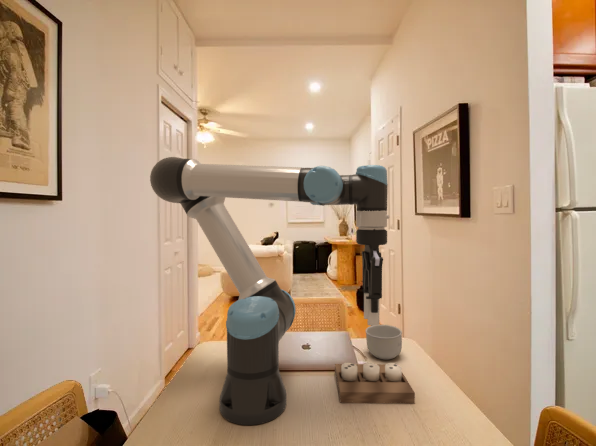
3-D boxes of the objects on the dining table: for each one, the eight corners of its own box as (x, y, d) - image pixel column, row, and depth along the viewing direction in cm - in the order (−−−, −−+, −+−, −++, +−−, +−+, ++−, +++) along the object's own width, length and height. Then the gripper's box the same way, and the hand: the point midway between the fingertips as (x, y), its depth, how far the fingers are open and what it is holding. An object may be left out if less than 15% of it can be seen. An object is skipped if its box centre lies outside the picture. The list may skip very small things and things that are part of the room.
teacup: (406, 363, 94) (406, 336, 94) (369, 363, 94) (369, 336, 94) (393, 344, 108) (393, 320, 107) (361, 344, 108) (361, 320, 108)
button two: (387, 381, 79) (387, 370, 79) (383, 373, 83) (383, 362, 83) (403, 381, 79) (403, 370, 79) (398, 373, 83) (399, 362, 83)
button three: (342, 380, 79) (342, 369, 79) (340, 373, 83) (340, 362, 83) (358, 381, 79) (358, 370, 79) (356, 373, 83) (356, 362, 83)
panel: (340, 402, 74) (340, 392, 74) (334, 373, 88) (334, 364, 88) (414, 403, 74) (414, 392, 74) (397, 373, 88) (397, 364, 88)
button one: (364, 381, 79) (364, 370, 79) (361, 373, 83) (361, 362, 83) (381, 381, 79) (381, 370, 79) (377, 373, 83) (377, 362, 83)
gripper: (396, 230, 71) (396, 334, 72) (378, 227, 89) (378, 311, 89) (362, 230, 72) (362, 334, 72) (351, 227, 89) (351, 311, 89)
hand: (371, 321), depth 81 cm, fingers open, 4 cm apart
